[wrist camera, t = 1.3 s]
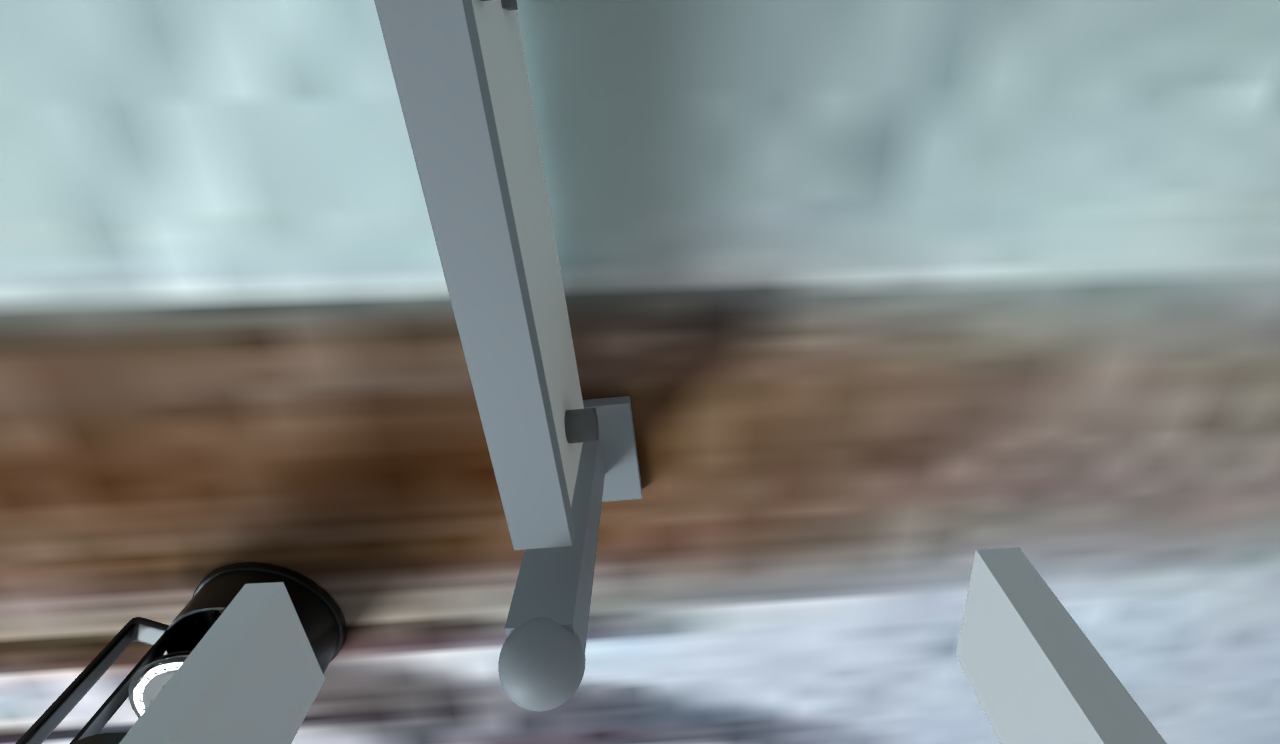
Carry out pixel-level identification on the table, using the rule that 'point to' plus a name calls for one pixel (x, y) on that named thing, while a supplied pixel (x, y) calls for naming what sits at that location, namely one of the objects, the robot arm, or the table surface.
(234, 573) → the french press
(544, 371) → the grey long flat block
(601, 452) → the posts
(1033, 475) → the table surface
